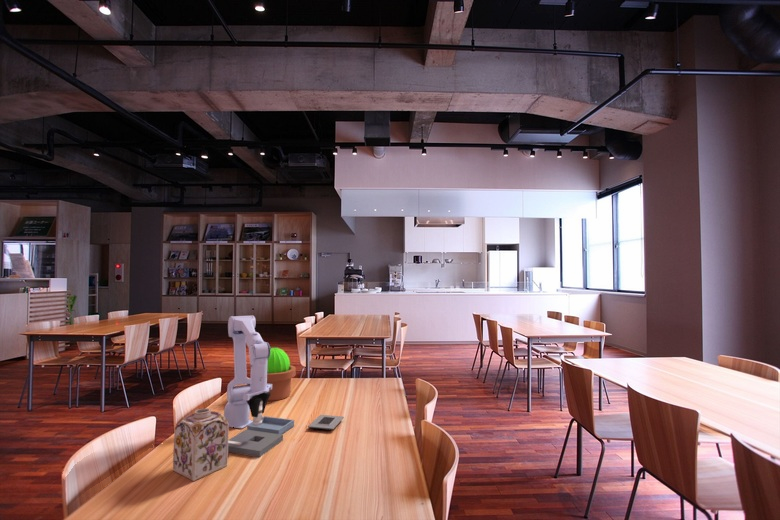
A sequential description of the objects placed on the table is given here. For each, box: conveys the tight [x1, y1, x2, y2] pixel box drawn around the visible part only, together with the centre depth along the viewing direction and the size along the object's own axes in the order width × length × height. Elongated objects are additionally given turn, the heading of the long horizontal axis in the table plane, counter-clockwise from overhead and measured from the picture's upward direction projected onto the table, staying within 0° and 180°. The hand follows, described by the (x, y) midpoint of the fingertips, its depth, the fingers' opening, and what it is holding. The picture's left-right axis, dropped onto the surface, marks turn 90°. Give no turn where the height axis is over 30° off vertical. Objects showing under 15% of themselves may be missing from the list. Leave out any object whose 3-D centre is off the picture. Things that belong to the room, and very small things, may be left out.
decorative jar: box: [172, 407, 230, 482], centre depth 119 cm, size 12×12×18 cm
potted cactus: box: [249, 346, 297, 402], centre depth 193 cm, size 22×22×25 cm
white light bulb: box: [252, 400, 263, 426], centre depth 137 cm, size 3×3×8 cm
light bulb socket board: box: [228, 429, 284, 458], centre depth 135 cm, size 16×14×2 cm
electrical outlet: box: [307, 414, 345, 431], centre depth 154 cm, size 13×10×2 cm
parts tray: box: [246, 415, 295, 435], centre depth 150 cm, size 14×11×2 cm
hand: (257, 414), depth 137 cm, fingers closed on white light bulb, 3 cm apart
